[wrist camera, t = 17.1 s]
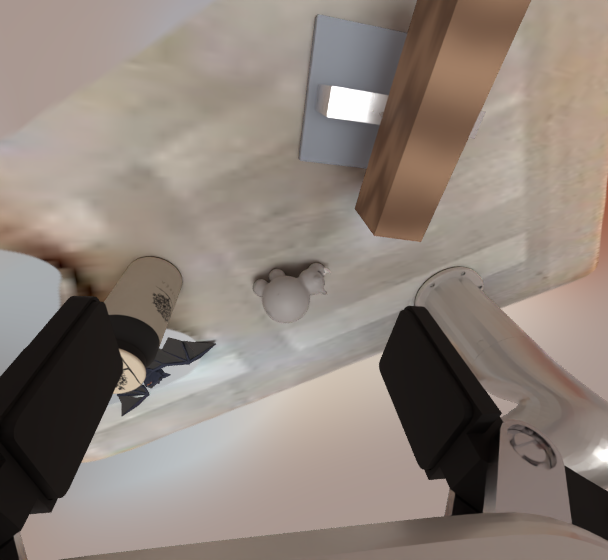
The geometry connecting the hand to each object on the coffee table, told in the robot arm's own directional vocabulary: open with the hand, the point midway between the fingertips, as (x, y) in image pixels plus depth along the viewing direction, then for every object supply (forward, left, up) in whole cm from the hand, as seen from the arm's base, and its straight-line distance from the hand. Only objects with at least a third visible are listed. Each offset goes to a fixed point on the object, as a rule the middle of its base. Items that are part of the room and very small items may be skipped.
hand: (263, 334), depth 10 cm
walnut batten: (+6, -14, -24) cm, 29 cm away
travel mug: (-21, +15, -34) cm, 42 cm away
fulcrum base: (+6, -14, -33) cm, 37 cm away
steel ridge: (+6, -14, -32) cm, 35 cm away
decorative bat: (-42, +19, -34) cm, 58 cm away
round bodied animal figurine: (-20, -6, -34) cm, 39 cm away
